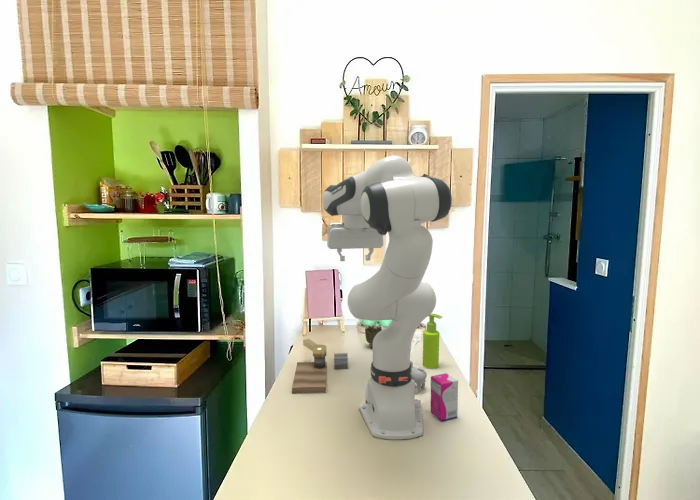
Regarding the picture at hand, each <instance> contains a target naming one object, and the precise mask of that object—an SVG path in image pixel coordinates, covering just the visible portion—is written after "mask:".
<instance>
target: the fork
mask: <svg viewBox="0 0 700 500" xmlns="http://www.w3.org/2000/svg"><path fill="white" fill-rule="evenodd" d="M421 340H422V334H421V333H414V336H413V339H412V341H413V344H412V345H411V352H410V354H412V352H413V350H414V349H415V348H416V346H417V343H418V342H420V341H421Z"/></svg>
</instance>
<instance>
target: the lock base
mask: <svg viewBox="0 0 700 500" xmlns="http://www.w3.org/2000/svg"><path fill="white" fill-rule="evenodd" d="M348 359H349V357H348V353H347V352H336V353H335V352H334V353H333V361H334V363H333V365H334V367H333V369H334V370H339V369H340V370H343V369H345V370H346V369H349V362H348V361H349V360H348ZM313 360H314V361H297V362H296V367H295V371H294V375H293V380H292V386H291V394H316V393H317V394H321V393H322V394H325V393H326V394H327V373H328V372H327V371H328V370H327V368H328V362H327V361H326V356H325V357H322V358H316V357H314V356H313Z"/></svg>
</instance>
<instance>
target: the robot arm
mask: <svg viewBox="0 0 700 500" xmlns="http://www.w3.org/2000/svg"><path fill="white" fill-rule="evenodd" d="M452 201H453V200H452V192H451V189H450V186H449V185H448V184H447V183H446V182H445V181H444V180H443V179H440V178H436V177H432V176H430V175H428V174H426V173H423V174H422V175H420V176H416V175H414V173H413V169H412V166H411V165H410V163H409V162H408V160H407V159H405V158H404V157H402V156H399V155H389V156H386V157H383V158H381V159H379V160H377V161H376V162H375V163H373V165H371V166H370V167H368V168H367V169H365V170H364V171H363V170H362V172H359V173H358V174H355V175H353V176H348V177H346V178H345V179H344V180H342V181H340V182H339V183H337V184H336V185H335V184H331V185H329V186H328V187H326V189H325V190H324V192H323V195H322V207H323V209H324V211H325V212H326V213H327V214H328V215H329V216H331V217H333V216H335V217H336V216H342V222H331V223H329V224H328V225H327V226H326V234H327V244H326V246H327V248H328V249H330V250H336V252H337V253H338V255H339V261H340V262H346V260H345V259H346V256H345V255H342V253H341V252H342V251H343V249H344V250H345V249H346V250H347V249H368V251H369V252H368V253H367V254H365V261H371V256H372V254H373V253H374V249H381V248H382V247H383V246H384V236H386V235H387V233H388V237H389V238H388V239H389V240H388V244H387V247H386V249H385V253H384V257H383V260H382V263H381V265H380V268H379V270H378V271H377V272H376V273H375V274H374V275H373V276H371V277H369V278H368V279H366V280H364V281H362V282H360V283H358V284H355V285H354V286H353V287H351V289H350V290H349V293H348V295H347V307H348V309H349V312H350V314H351V315H352V316H353V317H354V318H355V319H358V320H363V321H364V320H365V321H373V322H374V321H391V322H390V323H389V324H388V326H386V327H384V328H382V330H381V331H380V332H378V333H377V334H376V336H375V337H374V339H373V348H372V361H371V364H370V377H369V379H368V380H367V381H366V382H365V394H364V395H365V398H364V399H365V400H364V402H363V403H361V404H360V405H359V407H358V410H359V412H360V415H361V416H362V418H363V420H364V422H365V424H366V427H367V428H368V430H369V432H370V434H371V435H372V436H373V437H375V438H378V439H384V440H408V439H410V440H411V439H414V438H417V437H421V436H423V435H424V423H423V421H424V420H423V407H422V406H423V405H422V402H421V401H422V400H421V399H416V397H415V395H418V394H419V393H418V390H417V389H415V388H416V387H415V386H416V383H415V381H414V380H413V379H412V368H411V364H410V360H411V353H410V352H411V349H412V343H413V342H412V341H413V339H414V336H415V334H416V331H417V329H418V327H419V326H420V325H421V323H422V322H423V321H424V320H425V319H427V317H428V318H429V315H430V314H433V313H434V310H435V309H436V304H437V295H436V292H435V291H434V289H433V287H432V286H431V285H430V284H429V283H427V282H422V281H423V278H424V276H425V273H426V271H427V269H428V267H429V263H430V260H431V256H432V252H433V237H432V234H431V233H430V231H429V230H428V229H427V228H426V227H425V226H423V225H422V224H424V223H429V222H431V223H432V222H433V223H434V222H436V221H439V220H442V219H444V218H446V217H447V216H448V214H449V213H450V211H451V208H452Z"/></svg>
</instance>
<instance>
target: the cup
mask: <svg viewBox="0 0 700 500" xmlns="http://www.w3.org/2000/svg"><path fill="white" fill-rule="evenodd" d="M381 330H383V328H382V327H381V326H380V327H379V326H378V325H377V326H376V327H375V326H373V325H372V326H368V327H365V328H364V334H365V340H366V342H367V344H369V345H368V346H369V347H370V349H371V348H372V349H373V339H374V337H375V336H376V334H377V333H378V332H380V331H381Z"/></svg>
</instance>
